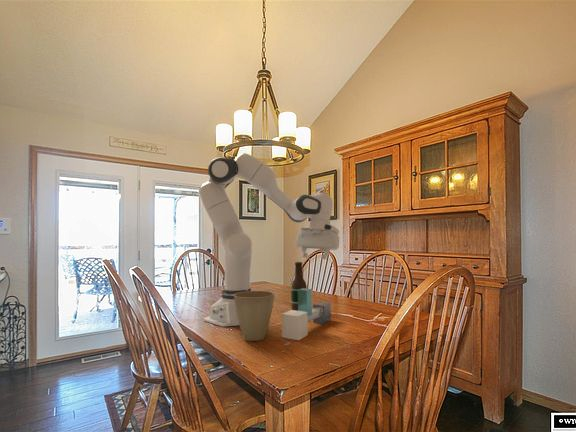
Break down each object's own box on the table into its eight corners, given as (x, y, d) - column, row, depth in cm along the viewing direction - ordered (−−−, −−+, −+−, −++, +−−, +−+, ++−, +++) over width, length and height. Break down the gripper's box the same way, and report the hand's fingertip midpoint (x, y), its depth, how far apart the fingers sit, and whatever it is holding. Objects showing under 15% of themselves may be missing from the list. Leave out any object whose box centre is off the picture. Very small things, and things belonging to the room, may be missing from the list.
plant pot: (281, 340, 113) (280, 295, 114) (241, 347, 107) (241, 299, 108) (265, 329, 127) (265, 289, 128) (228, 335, 120) (228, 292, 121)
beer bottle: (307, 309, 161) (306, 261, 162) (306, 313, 153) (306, 262, 154) (292, 309, 161) (291, 261, 163) (290, 312, 154) (290, 262, 155)
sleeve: (313, 322, 136) (313, 304, 137) (320, 318, 142) (320, 301, 143) (324, 324, 134) (323, 305, 134) (330, 320, 140) (330, 302, 140)
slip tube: (287, 327, 118) (287, 292, 118) (314, 314, 136) (313, 284, 137) (296, 328, 116) (296, 293, 116) (322, 315, 134) (322, 285, 135)
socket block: (281, 337, 117) (281, 313, 117) (291, 332, 123) (291, 309, 123) (298, 340, 113) (298, 316, 114) (307, 335, 119) (307, 312, 120)
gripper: (296, 225, 147) (290, 254, 143) (336, 226, 135) (332, 258, 131) (302, 229, 152) (297, 258, 148) (342, 230, 140) (338, 261, 136)
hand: (314, 258), depth 139 cm, fingers open, 8 cm apart
